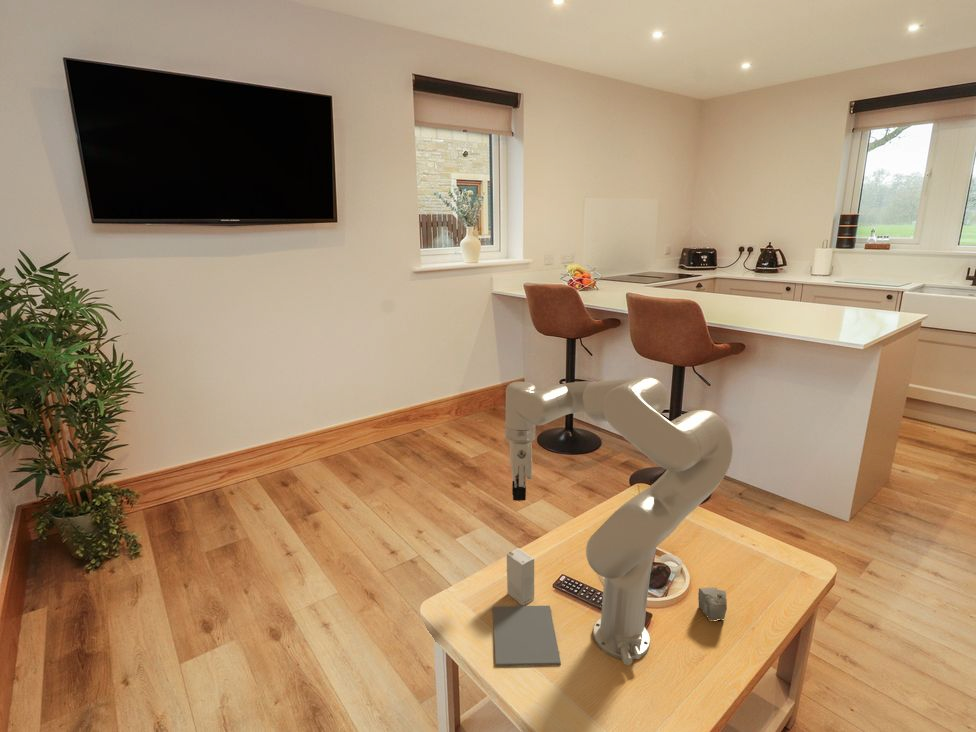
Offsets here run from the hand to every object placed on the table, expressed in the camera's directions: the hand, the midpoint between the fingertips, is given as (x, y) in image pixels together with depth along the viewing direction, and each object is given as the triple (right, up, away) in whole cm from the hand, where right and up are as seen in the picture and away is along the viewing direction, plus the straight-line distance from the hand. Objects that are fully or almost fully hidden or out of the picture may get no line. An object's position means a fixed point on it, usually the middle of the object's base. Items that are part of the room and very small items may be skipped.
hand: (518, 497), depth 135 cm
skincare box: (0, -25, -2) cm, 25 cm away
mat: (+1, -28, -14) cm, 32 cm away
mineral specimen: (+46, -27, -9) cm, 54 cm away
